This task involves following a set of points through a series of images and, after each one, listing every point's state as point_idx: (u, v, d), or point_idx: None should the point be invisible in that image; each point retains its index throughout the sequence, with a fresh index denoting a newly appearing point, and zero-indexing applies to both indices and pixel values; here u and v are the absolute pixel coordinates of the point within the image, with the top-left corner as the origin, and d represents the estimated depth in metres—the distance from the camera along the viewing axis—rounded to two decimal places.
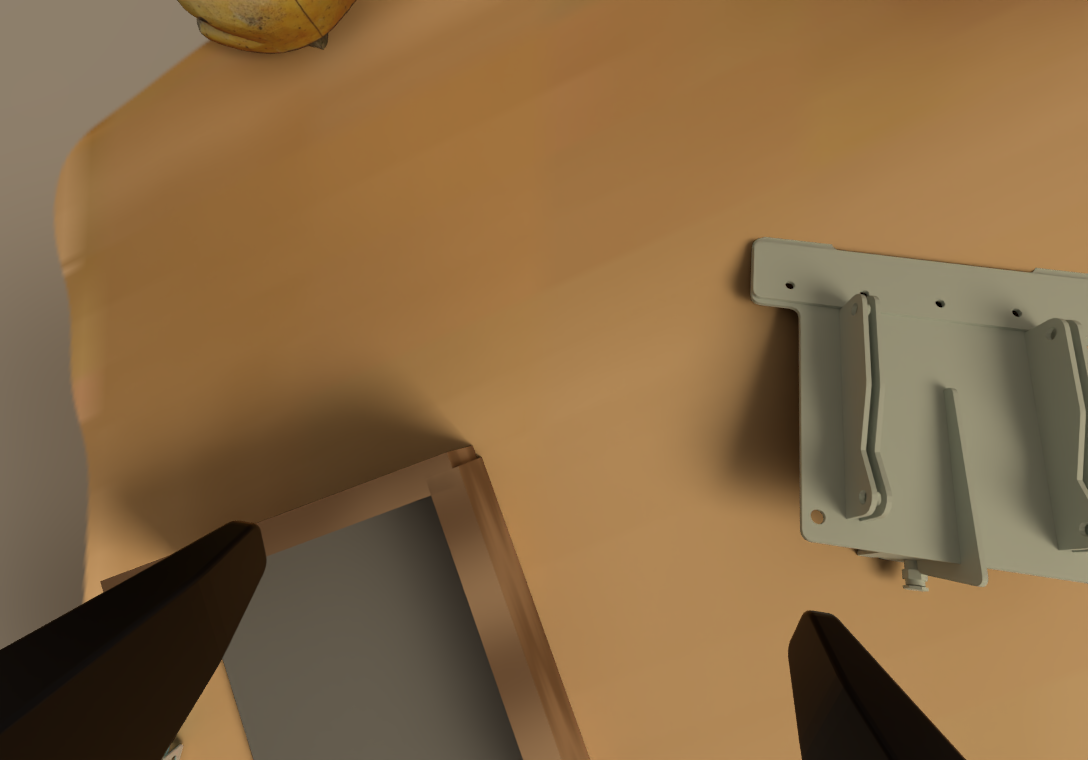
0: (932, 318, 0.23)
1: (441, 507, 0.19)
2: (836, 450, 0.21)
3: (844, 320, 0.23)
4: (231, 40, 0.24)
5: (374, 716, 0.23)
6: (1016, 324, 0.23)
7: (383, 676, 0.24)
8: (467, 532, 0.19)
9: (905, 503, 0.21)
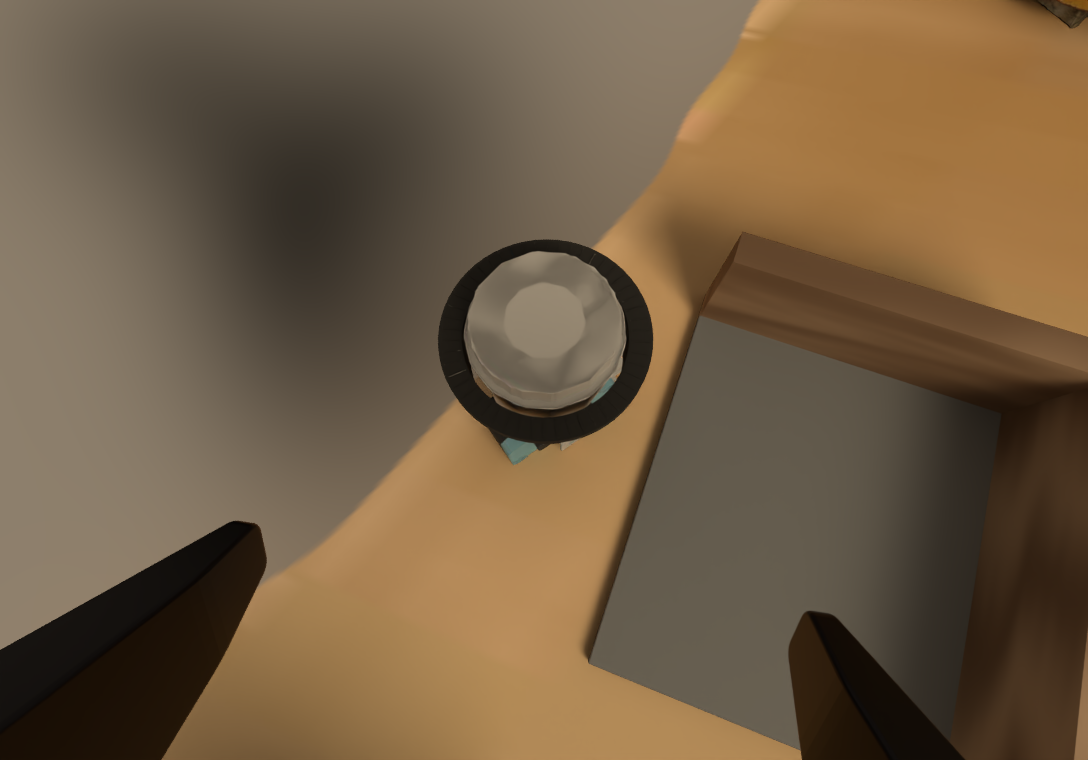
0: None
1: None
2: None
3: None
4: None
5: (784, 550, 0.21)
6: None
7: (816, 523, 0.21)
8: None
9: None
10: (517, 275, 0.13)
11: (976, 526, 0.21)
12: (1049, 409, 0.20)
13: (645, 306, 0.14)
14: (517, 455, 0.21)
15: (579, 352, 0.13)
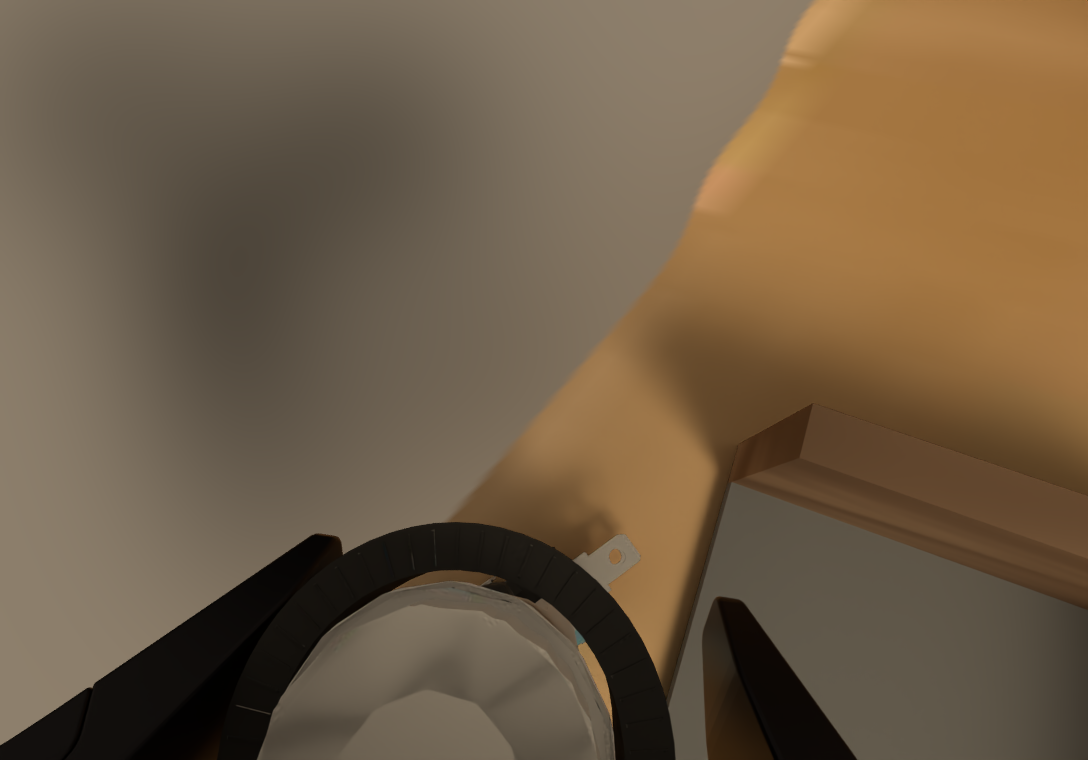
0: None
1: None
2: None
3: None
4: None
5: None
6: None
7: None
8: None
9: None
10: (371, 669, 0.06)
11: None
12: None
13: (659, 690, 0.07)
14: None
15: None
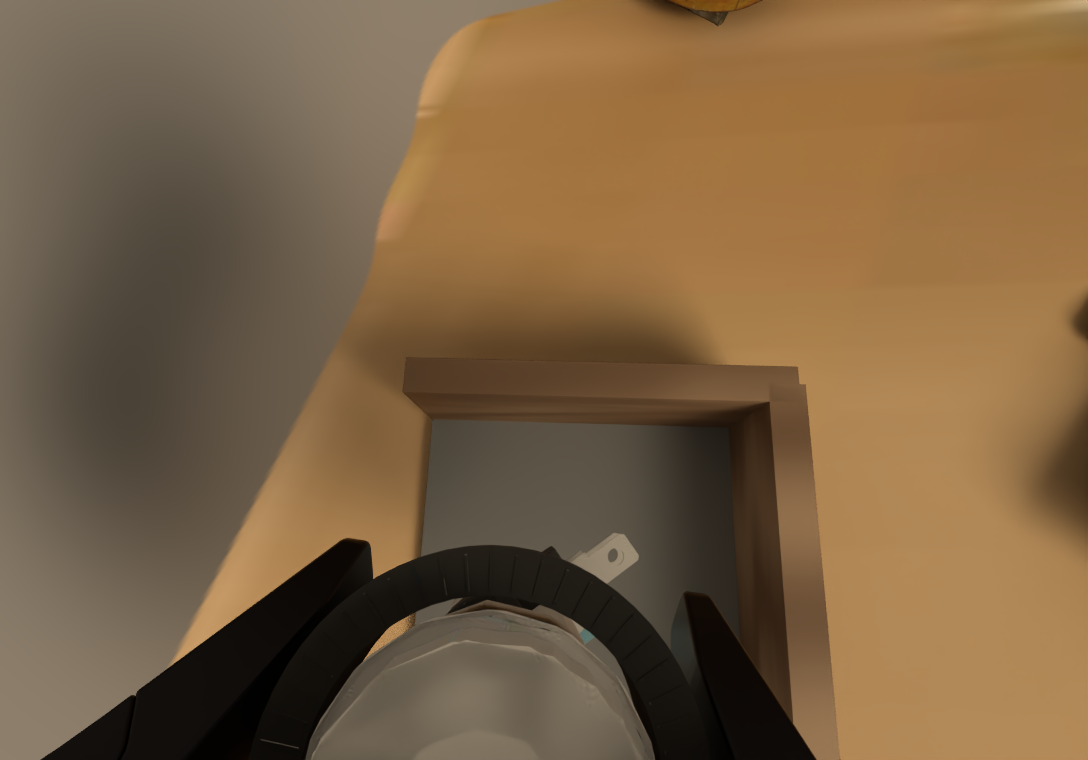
0: None
1: (776, 417, 0.18)
2: None
3: None
4: None
5: None
6: None
7: None
8: (797, 451, 0.18)
9: None
10: (415, 709, 0.06)
11: (728, 546, 0.22)
12: (747, 426, 0.20)
13: (697, 716, 0.07)
14: None
15: None
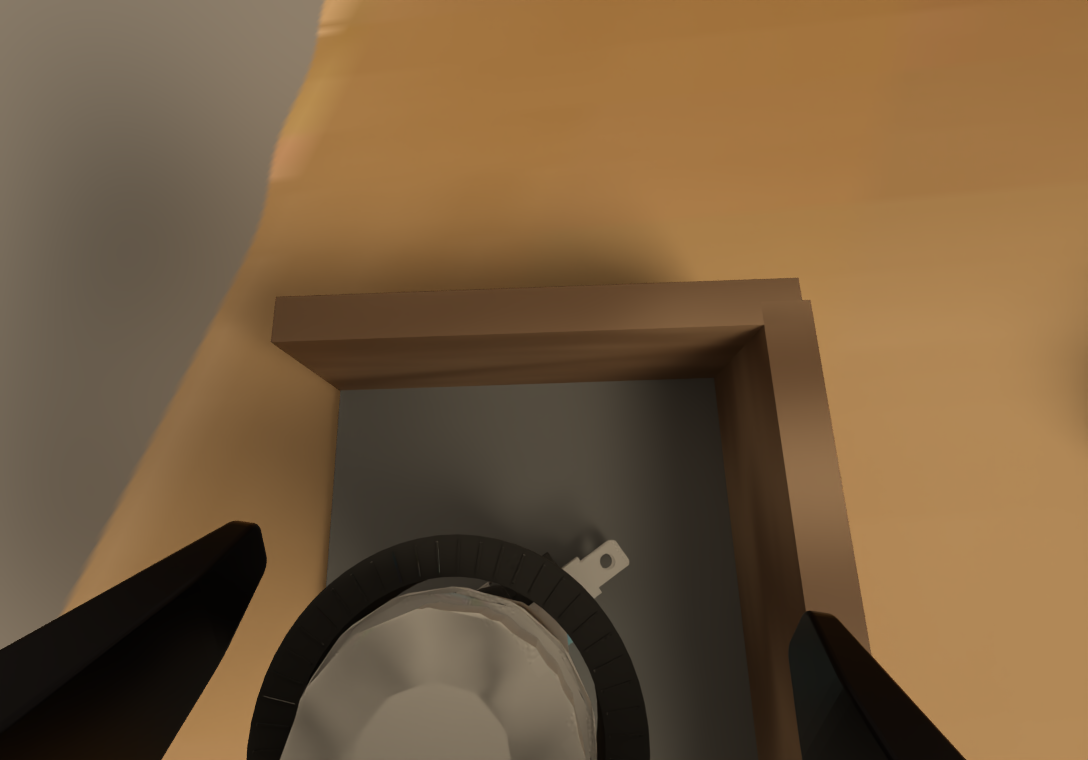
0: None
1: (774, 344, 0.14)
2: None
3: None
4: None
5: None
6: None
7: None
8: (805, 387, 0.13)
9: None
10: (384, 664, 0.07)
11: (722, 526, 0.17)
12: (737, 368, 0.16)
13: (636, 682, 0.08)
14: None
15: None
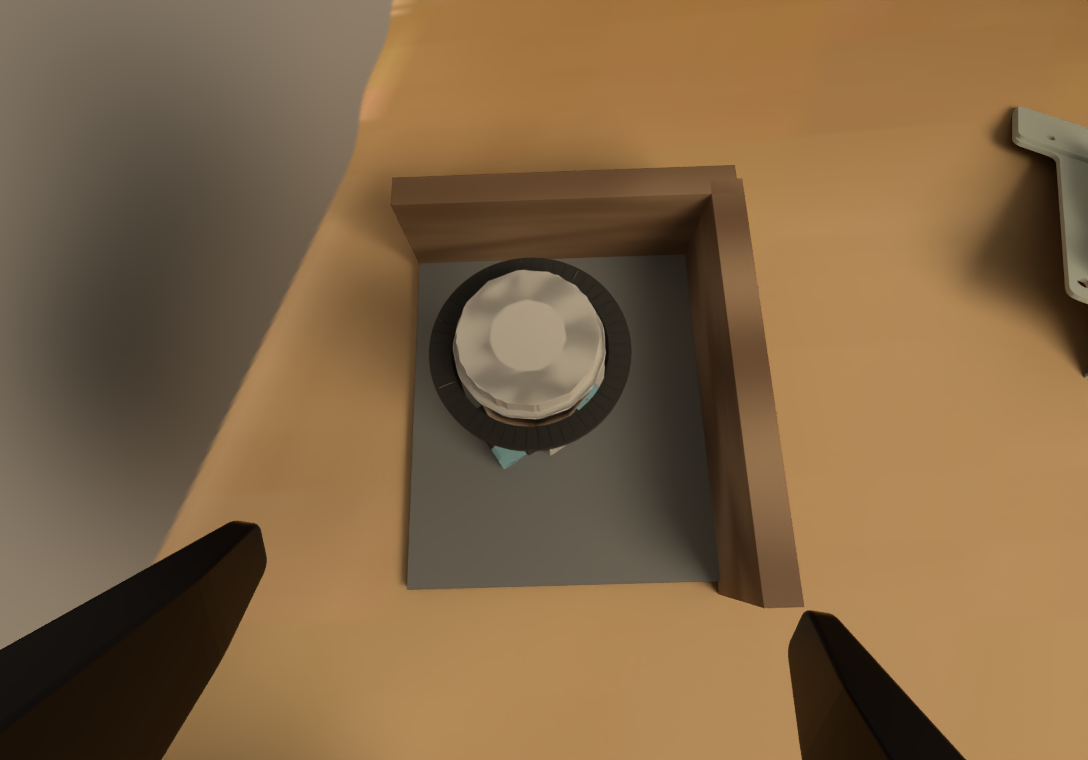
0: None
1: (718, 205, 0.21)
2: None
3: None
4: None
5: None
6: None
7: None
8: (737, 231, 0.21)
9: None
10: (503, 292, 0.14)
11: (689, 350, 0.24)
12: (697, 235, 0.23)
13: (624, 321, 0.15)
14: (507, 460, 0.22)
15: (560, 366, 0.14)
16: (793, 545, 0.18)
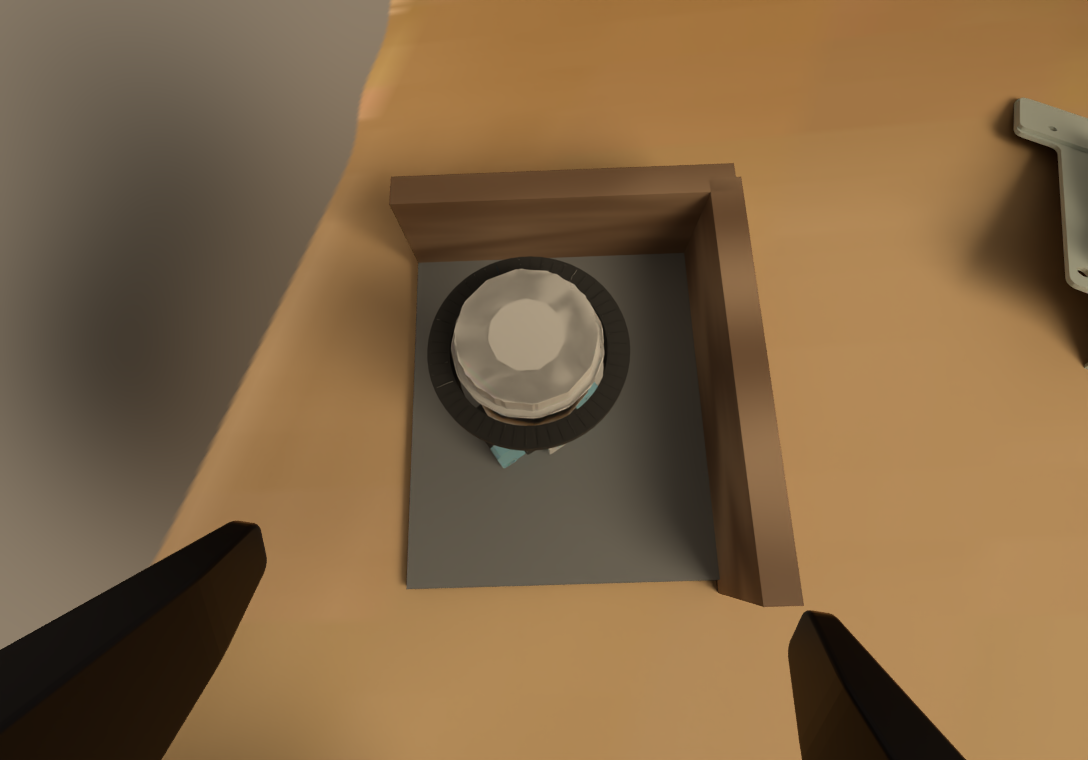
0: None
1: (717, 204, 0.21)
2: None
3: None
4: None
5: None
6: None
7: None
8: (736, 229, 0.21)
9: None
10: (501, 292, 0.14)
11: (688, 349, 0.24)
12: (697, 234, 0.23)
13: (623, 320, 0.15)
14: (506, 459, 0.22)
15: (559, 365, 0.14)
16: (793, 544, 0.18)
